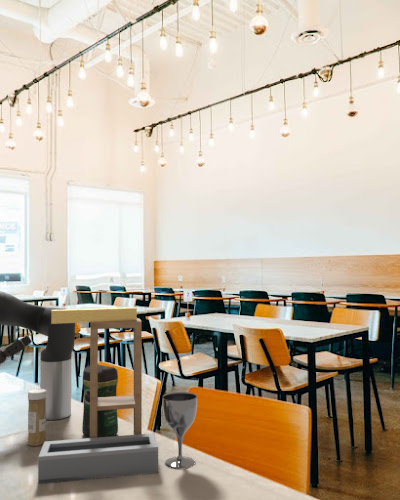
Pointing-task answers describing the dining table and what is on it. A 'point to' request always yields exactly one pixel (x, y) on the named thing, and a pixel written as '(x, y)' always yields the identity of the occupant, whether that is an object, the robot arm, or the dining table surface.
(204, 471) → the dining table surface
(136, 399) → the walnut stand
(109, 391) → the coffee jar
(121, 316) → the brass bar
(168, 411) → the wine glass
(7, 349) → the robot arm
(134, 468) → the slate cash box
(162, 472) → the dining table surface
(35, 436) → the sprinkles bottle
